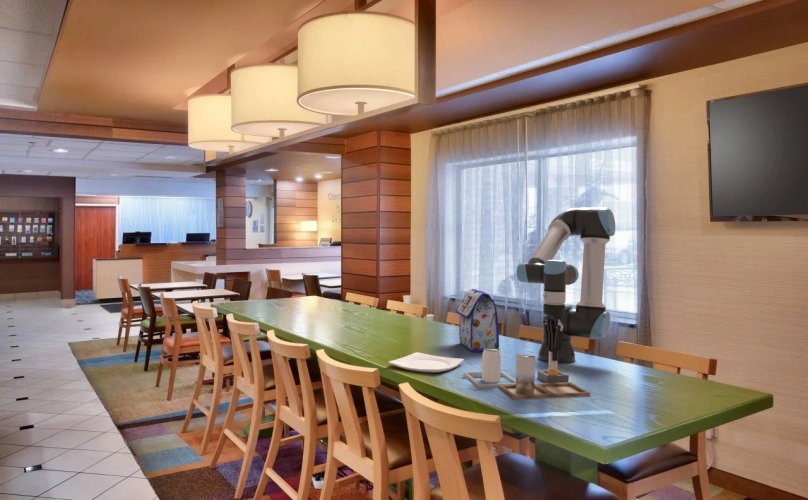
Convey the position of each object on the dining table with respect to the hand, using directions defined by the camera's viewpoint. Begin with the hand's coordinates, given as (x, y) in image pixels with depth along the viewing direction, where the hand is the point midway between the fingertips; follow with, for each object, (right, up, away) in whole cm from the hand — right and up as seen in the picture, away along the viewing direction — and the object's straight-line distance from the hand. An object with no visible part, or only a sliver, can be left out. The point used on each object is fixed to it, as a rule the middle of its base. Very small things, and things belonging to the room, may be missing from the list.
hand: (552, 369), depth 201 cm
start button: (0, -4, 0) cm, 4 cm away
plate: (-44, -4, +23) cm, 50 cm away
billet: (-14, -4, -17) cm, 22 cm away
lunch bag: (-19, -3, +62) cm, 65 cm away
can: (-22, -5, -1) cm, 23 cm away
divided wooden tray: (-7, -5, -15) cm, 18 cm away
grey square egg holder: (0, -5, 0) cm, 5 cm away
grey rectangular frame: (-22, -5, -1) cm, 23 cm away
